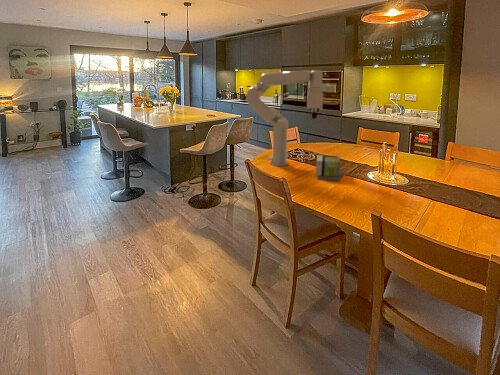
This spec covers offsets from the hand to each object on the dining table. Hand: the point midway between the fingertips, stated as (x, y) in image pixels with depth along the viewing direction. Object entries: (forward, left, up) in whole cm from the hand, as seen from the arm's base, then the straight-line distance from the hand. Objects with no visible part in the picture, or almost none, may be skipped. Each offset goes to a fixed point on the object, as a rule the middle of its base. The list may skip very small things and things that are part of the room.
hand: (314, 118), depth 232 cm
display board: (+20, -19, -33) cm, 43 cm away
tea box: (+9, -18, -27) cm, 34 cm away
